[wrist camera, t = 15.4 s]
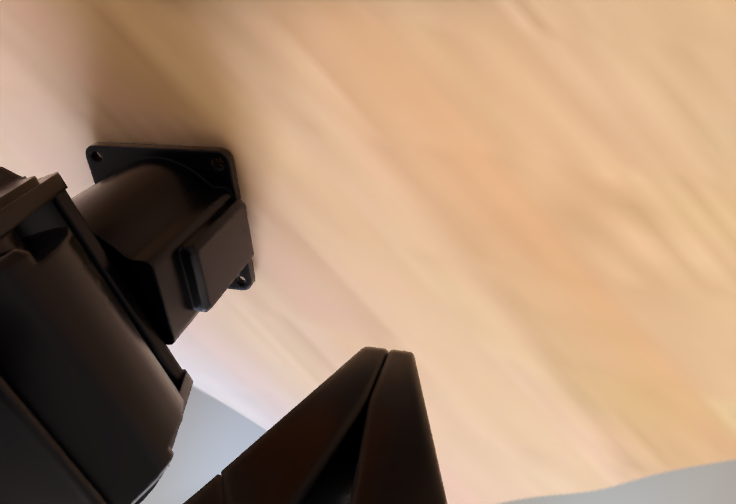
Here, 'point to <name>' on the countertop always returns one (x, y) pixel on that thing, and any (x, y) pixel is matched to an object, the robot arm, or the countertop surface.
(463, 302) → the countertop surface
